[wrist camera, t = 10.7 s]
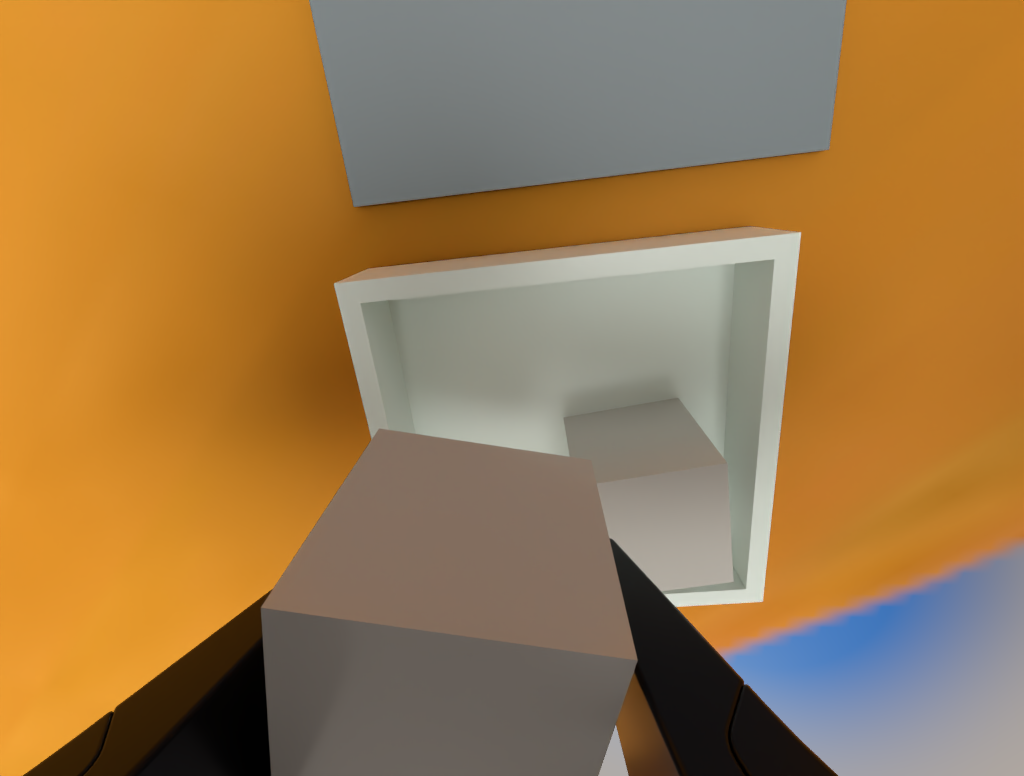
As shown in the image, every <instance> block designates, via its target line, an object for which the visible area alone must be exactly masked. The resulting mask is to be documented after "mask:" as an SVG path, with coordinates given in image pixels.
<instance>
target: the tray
mask: <svg viewBox="0 0 1024 776" xmlns="http://www.w3.org/2000/svg"><path fill="white" fill-rule="evenodd" d="M800 239H801V232H794V231H786V230H778V229H770V228H762V227H753V226H746V227H737V228H728V229H719V230H710V231H701V232H692V233H683V234H674V235H665V236H656V237H647V238H638V239H629V240H620V241H611V242H602V243H593V244H584V245H575V246H566V247H557V248H548V249H540V250H531V251H522V252H513V253H504V254H495V255H486V256H477V257H468V258H459V259H450V260H441V261H432V262H423V263H414V264H405V265H396V266H387V267H378V268H369V269H366V270H364V271H361V272H359V273H357V274H355V275H352V276H350V277H348V278H345V279H343V280H341V281H338V282H336V283H334V287H335V291H336V295H337V299H338V303H339V307H340V311H341V316H342V320H343V324H344V328H345V332H346V336H347V340H348V344H349V348H350V352H351V357H352V361H353V365H354V369H355V373H356V377H357V381H358V385H359V389H360V394H361V398H362V402H363V406H364V410H365V414H366V418H367V422H368V426H369V431H370V435H371V439H372V438H373V437H374V435H375V434H376V432H377V431H378V429H379V428H380V429H386V430H393V431H400V432H407V433H413V434H420V435H427V436H434V437H440V438H447V439H454V440H460V441H467V442H474V443H481V444H487V445H494V446H501V447H508V448H514V449H521V450H528V451H535V452H541V453H548V454H555V455H561V456H568V457H570V456H569V449H568V443H567V437H566V431H565V424H564V417H569V416H575V415H581V414H587V413H593V412H598V411H604V410H610V409H616V408H622V407H627V406H633V405H639V404H645V403H650V402H656V401H662V400H668V399H674V398H679V399H680V401H681V402H682V403H683V405H684V406H685V407H686V409H687V410H688V411H689V413H690V414H691V415H692V417H693V418H694V419H695V421H696V422H697V423H698V425H699V426H700V427H701V429H702V430H703V431H704V433H705V434H706V435H707V437H708V438H709V439H710V441H711V442H712V443H713V445H714V446H715V447H716V449H717V450H718V451H719V453H720V454H721V455H722V457H723V458H724V459H725V461H726V462H727V463H728V483H729V503H730V522H731V542H732V562H733V581H734V582H729V583H721V584H713V585H706V586H698V587H691V588H683V589H675V590H668V591H661V592H662V593H663V594H664V595H665V596H666V597H667V598H668V599H669V600H670V601H671V602H672V604H673V605H674V606H675V607H680V606H697V605H715V604H732V603H749V602H763V595H764V585H765V576H766V566H767V556H768V547H769V537H770V528H771V518H772V508H773V499H774V489H775V479H776V470H777V460H778V451H779V441H780V431H781V422H782V412H783V402H784V393H785V383H786V374H787V364H788V354H789V345H790V335H791V325H792V316H793V306H794V297H795V287H796V277H797V268H798V258H799V249H800Z"/></svg>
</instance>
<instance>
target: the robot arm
mask: <svg viewBox="0 0 1024 776" xmlns="http://www.w3.org/2000/svg"><path fill="white" fill-rule="evenodd" d="M609 539H610V543H611V548H612V552H613V556H614V561H615V565H616V569H617V574H618V578H619V582H620V587H621V591H622V595H623V599H624V604H625V608H626V612H627V617H628V621H629V625H630V630H631V634H632V638H633V643H634V647H635V651H636V655H637V660H638V661H637V664H636V667H635V670H634V673H633V675H632V678H631V681H630V684H629V687H628V690H627V693H626V696H625V699H624V702H623V705H622V708H621V710H620V713H619V716H618V719H617V722H616V726H617V730H618V735H619V738H620V742H621V746H622V750H623V755H624V758H625V762H626V766H627V770H628V774H629V776H838V775H837V774H836V773H835V772H834V771H833V770H831V768H830V767H828V766H827V765H826V764H825V763H824V762H823V761H822V760H821V759H820V758H819V757H818V756H817V755H816V754H814V752H813V751H812V750H810V749H809V748H808V747H807V746H806V745H805V744H804V743H803V742H802V741H801V740H800V739H799V738H798V737H797V736H796V735H795V734H794V733H793V732H792V731H791V730H790V729H789V728H788V727H787V726H786V725H785V724H784V723H783V721H782V720H781V719H780V718H779V717H778V716H777V715H776V714H775V713H774V712H773V711H772V710H771V709H770V708H769V707H768V706H767V705H766V704H765V703H764V702H763V701H762V700H761V698H760V697H759V696H758V695H757V694H756V693H755V692H754V691H753V690H752V689H751V688H750V686H748V685H747V684H746V685H744V681H743V679H742V678H741V677H740V676H739V675H738V674H737V673H736V672H735V671H734V669H733V668H732V667H731V666H730V665H729V664H728V663H727V662H726V661H725V660H724V659H723V658H722V656H721V655H720V654H719V653H718V652H717V651H716V650H715V649H714V648H713V647H712V646H711V645H710V644H709V642H708V641H707V640H706V639H705V638H704V637H703V636H702V635H701V634H700V633H699V632H698V631H697V629H696V628H695V627H694V626H693V625H692V624H691V623H690V622H689V621H688V620H687V619H686V618H685V617H684V615H683V614H682V613H681V612H680V611H679V610H678V609H677V608H676V607H675V606H674V605H673V604H672V602H671V601H670V600H669V599H668V598H667V597H666V596H665V595H664V594H663V593H662V592H661V591H660V590H659V588H658V587H657V586H656V585H655V584H654V583H653V582H652V581H651V580H650V579H649V578H648V577H647V575H646V574H645V573H644V572H643V571H642V570H641V569H640V568H639V567H638V566H637V565H636V564H635V563H634V561H633V560H632V559H631V558H630V557H629V556H628V555H627V554H626V553H625V552H624V551H623V550H622V548H621V547H620V546H619V545H618V544H617V543H616V542H615V541H614V540H613V539H611V538H609ZM272 590H273V589H272ZM272 590H271V591H272ZM271 591H269V592H268V593H267V594H265V595H264V596H263V597H261V598H260V599H259V600H257V601H256V602H255V603H253V604H252V605H251V606H249V607H248V608H247V609H245V610H244V611H243V612H241V613H240V614H239V615H237V616H236V617H235V618H233V619H232V620H231V621H230V622H228V623H227V624H226V625H224V626H223V627H222V628H220V629H219V630H218V631H216V632H215V633H214V634H212V635H211V636H210V637H208V638H207V639H206V640H204V641H203V642H202V643H200V644H199V645H198V646H196V647H195V648H194V649H192V650H191V651H190V652H188V653H187V654H186V655H184V656H183V657H182V658H180V659H179V660H178V661H176V662H175V663H174V664H172V665H171V666H170V667H168V668H167V669H166V670H164V671H163V672H162V673H160V674H159V675H158V676H156V677H155V678H154V679H152V680H151V681H150V682H148V683H147V684H146V685H144V686H143V687H142V688H141V689H139V690H138V691H137V692H135V693H134V694H133V695H131V696H130V697H129V698H127V699H126V700H125V701H123V702H122V703H121V704H119V705H118V706H117V707H116V708H115V710H114V712H112V711H111V712H108V713H107V714H106V715H104V716H103V717H102V718H101V719H99V720H98V721H97V722H95V723H94V724H93V725H91V726H90V727H89V728H87V729H86V730H85V731H83V732H82V733H81V734H79V735H78V736H77V737H75V738H74V739H73V740H71V741H70V742H68V743H67V744H66V745H64V746H63V747H62V748H60V749H59V750H58V751H56V752H55V753H53V754H52V755H51V756H49V757H48V758H47V759H45V760H44V761H43V762H41V763H40V764H38V765H37V766H36V767H34V768H33V769H31V770H30V771H29V772H27V773H26V774H24V775H23V776H271V764H270V748H269V732H268V716H267V700H266V684H265V667H264V651H263V635H262V619H261V607H262V605H263V604H264V602H265V601H266V599H267V598H268V596H269V594H270V593H271Z"/></svg>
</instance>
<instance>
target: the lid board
mask: <svg viewBox="0 0 1024 776" xmlns="http://www.w3.org/2000/svg"><path fill="white" fill-rule="evenodd" d="M846 1H847V0H309V2H310V6H311V11H312V16H313V20H314V25H315V30H316V34H317V39H318V43H319V48H320V53H321V57H322V62H323V67H324V71H325V76H326V81H327V85H328V90H329V94H330V99H331V104H332V108H333V113H334V118H335V122H336V127H337V132H338V136H339V141H340V145H341V150H342V155H343V159H344V164H345V169H346V173H347V178H348V182H349V187H350V192H351V196H352V201H353V206H354V207H360V206H368V205H376V204H385V203H393V202H401V201H410V200H418V199H426V198H435V197H443V196H451V195H459V194H468V193H476V192H484V191H493V190H501V189H509V188H517V187H526V186H534V185H542V184H551V183H559V182H567V181H575V180H584V179H592V178H600V177H609V176H617V175H625V174H634V173H642V172H650V171H658V170H667V169H675V168H683V167H692V166H700V165H708V164H716V163H725V162H733V161H741V160H750V159H758V158H766V157H775V156H783V155H791V154H799V153H808V152H816V151H823V150H829V146H830V137H831V129H832V120H833V112H834V103H835V94H836V86H837V77H838V69H839V60H840V52H841V43H842V35H843V26H844V18H845V9H846Z"/></svg>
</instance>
